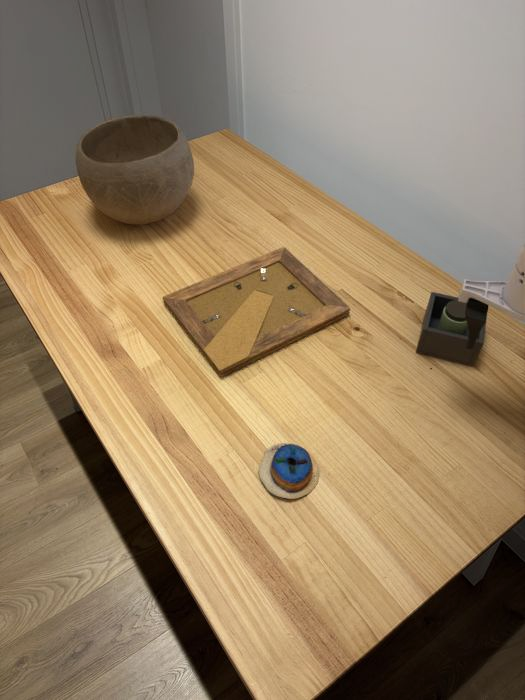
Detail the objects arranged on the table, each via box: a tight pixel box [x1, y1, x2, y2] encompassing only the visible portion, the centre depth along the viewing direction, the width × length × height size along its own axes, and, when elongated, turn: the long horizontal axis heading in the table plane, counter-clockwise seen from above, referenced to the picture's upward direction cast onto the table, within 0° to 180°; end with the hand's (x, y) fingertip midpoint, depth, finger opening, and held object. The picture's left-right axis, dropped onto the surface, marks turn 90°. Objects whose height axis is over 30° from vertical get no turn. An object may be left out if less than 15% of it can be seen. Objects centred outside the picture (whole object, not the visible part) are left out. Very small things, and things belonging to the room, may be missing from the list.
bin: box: [415, 291, 488, 367], centre depth 82 cm, size 8×8×5 cm
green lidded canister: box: [437, 300, 468, 335], centre depth 82 cm, size 4×4×6 cm
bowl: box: [75, 114, 195, 226], centre depth 102 cm, size 21×21×15 cm
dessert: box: [258, 442, 320, 500], centre depth 69 cm, size 8×7×6 cm
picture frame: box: [162, 246, 351, 378], centre depth 88 cm, size 19×2×24 cm
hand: (500, 351), depth 70 cm, fingers open, 7 cm apart
